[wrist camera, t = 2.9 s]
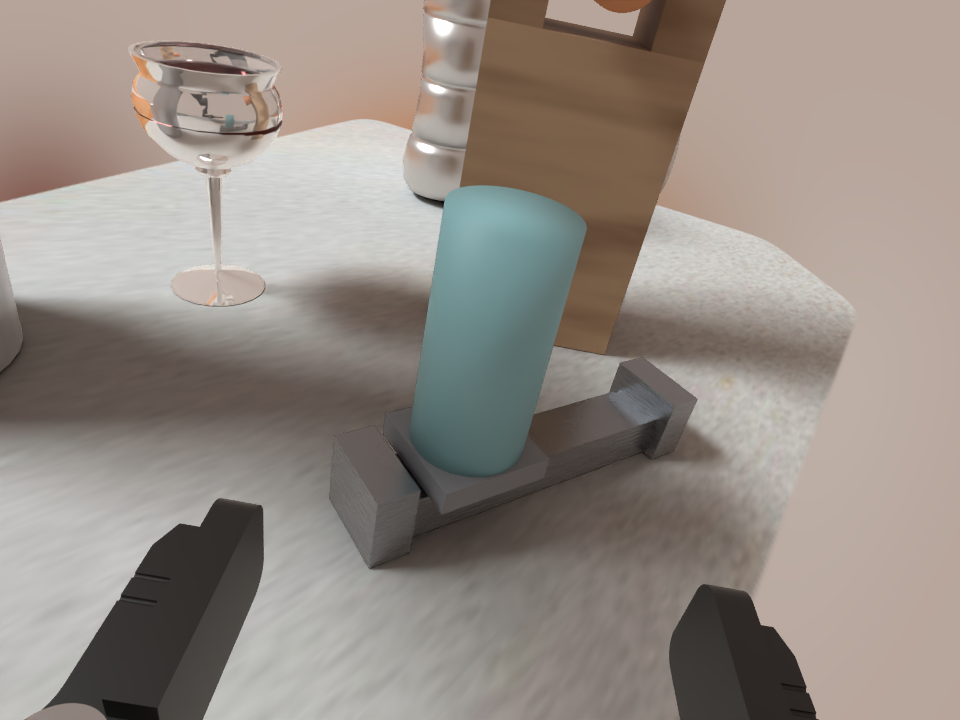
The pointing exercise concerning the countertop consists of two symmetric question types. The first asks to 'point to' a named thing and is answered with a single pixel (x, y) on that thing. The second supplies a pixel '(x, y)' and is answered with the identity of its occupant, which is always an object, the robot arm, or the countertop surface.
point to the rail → (572, 451)
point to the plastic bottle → (445, 95)
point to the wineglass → (208, 136)
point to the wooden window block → (588, 131)
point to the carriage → (487, 343)
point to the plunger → (622, 5)
